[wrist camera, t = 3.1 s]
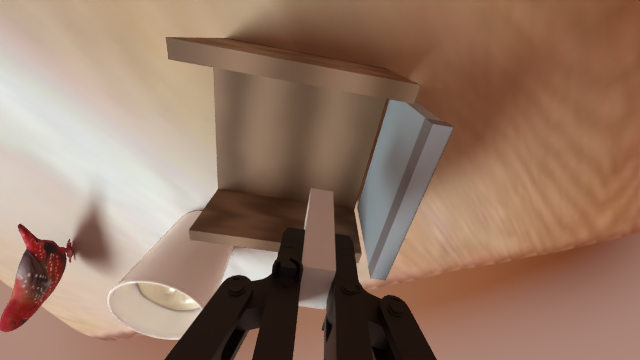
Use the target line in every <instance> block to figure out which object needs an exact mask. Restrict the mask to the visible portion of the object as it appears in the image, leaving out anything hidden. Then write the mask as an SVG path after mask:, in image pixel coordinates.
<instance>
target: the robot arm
mask: <svg viewBox="0 0 640 360" xmlns="http://www.w3.org/2000/svg"><path fill="white" fill-rule="evenodd" d="M326 304H327V308H326V311H327V313H326V316H325V319H324V323H323V326H322V330H323V331H324V360H437V359H436V357H435V356H434V354H433V352H432V350H431V348H430V346H429V345H428V343H427V341H426V339H425V337H424V335H423V333H422V331H421V330H420V328H419V326H418V324H417V322H416V320H415V318H414V316H413V315H412V313H411V311H410V309H409V307H408V306H407V304H406V303H405V302H404V301H402V300H401V299H400V298H398V297H396V296H392V295H387V296H384V297H383V298H382V299H380V298H378V297H376V296H374V295H371V294H370V293H368V292H367V291H365V290H364V289H363V288H362V285H361V284H360V283H359V280H358V274H357V267H356V259H355V251H354V243H353V241H352V240H351V238H350V236H347V235H341V234H335V229H334V201H333V191H327V190H320V189H314V188H311V190H310V196H309V202H308V207H307V213H306V218H305V226H304V229H297V228H290V227H288V228H287V229H286V230H285V231H284V232H283V235H282V240H281V244H280V248H279V252H278V257H277V260H275V262H274V264H273V268H272V274H271V275H269V276H268V277H266V278H264V279H261V280H256V281H251V280H250V279H249V278H247V277H245V276H241V275H236V276H232V277H230V278H227V279H226V280H225V281H224V282H223V283H222V284H221V285H220V287H219V288H218V289H217V291H216V292H215V293H214V295H213V296H212V297H211V299H210V300H209V301H208V303H207V304H206V305H205V307H204V308H203V309H202V311H201V312H200V313H199V315H198V316H197V317H196V319H195V320H194V321H193V323H192V324H191V325H190V327H189V328H188V329H187V331H186V332H185V333H184V335H183V336H182V337H181V338H180V340H179V341H178V343H177V344H176V345H175V346H174V348H173V349H172V350H171V352H170V353H169V354H168V356H167V357H166V359H165V360H233V359H234V358H235V356H236V354H237V352H238V350H239V348H240V346H241V345H242V343H243V341H244V339H245V337H246V335H247V333H248V331H249V330H251V329H255V328H260V329H259V333H258V337H257V341H256V346H255V350H254V354H253V358H252V360H292V359H293V351H294V341H295V332H296V323H297V314H298V313H297V312H298V306H304V307H311V308H319V309H325V307H326Z"/></svg>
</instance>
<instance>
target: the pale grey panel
mask: <svg viewBox="0 0 640 360" xmlns="http://www.w3.org/2000/svg"><path fill="white" fill-rule="evenodd" d="M453 129H454V127H452V126H451V125H449V124H448V123H447V122H445V121H443V120H442V119H440V118H439V117H437V116H436V115H434V114H433V113H431V112H430V111H428V110H427V109H426V108H424V107H423V106H421V105H420V104H418V103H417V102H415V103H414V104H411V103H406V102H400V101H395V100H389V104H388V107H387V110H386V114H385V117H384V120H383V124H382V127H381V130H380V134H379V137H378V140H377V144H376V147H375V150H374V154H373V157H372V160H371V164H370V167H369V170H368V174H367V177H366V180H365V184H364V187H363V190H362V194H361V197H360V200H359V204H358V207H357V208H358V213H359V218H360V224H361V229H362V234H363V239H364V244H365V250H366V255H367V260H368V265H369V266H368V268H369V274H370V278H372V279H380V280H386V278H387V276H388V274H389V272H390V269H391V267H392V265H393V263H394V260H395V258H396V256H397V254H398V252H399V249H400V247H401V245H402V243H403V240H404V238H405V236H406V234H407V232H408V229H409V227H410V225H411V223H412V220H413V218H414V216H415V214H416V211H417V209H418V207H419V205H420V203H421V200H422V198H423V196H424V194H425V191H426V189H427V187H428V185H429V182H430V180H431V178H432V176H433V174H434V171H435V169H436V167H437V165H438V162H439V160H440V158H441V156H442V154H443V151H444V149H445V147H446V145H447V142H448V140H449V138H450V136H451V133H452V131H453Z"/></svg>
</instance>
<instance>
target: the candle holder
mask: <svg viewBox="0 0 640 360" xmlns="http://www.w3.org/2000/svg"><path fill="white" fill-rule="evenodd" d="M201 212H202V211H193V212H189V213H187V214H185V215H183V216H182V217H181V218H180V219H179V220H178V221H177V222H176V223H175V224H174V225H173V226H172V227H171V228H170V229H169V230H168V231H167V232H166V233H165V234H164V235H163V236H162V237H161V238H160V240H159V241H158V242H157V243H156V244H155V245H154V246H153V247H152V248H151V249H150V250H149V251H148V252H147V253H146V254H145V255H144V256H143V258H142V259H141V260H140V261H139V262H138V263H137V264H136V265H135V266H134V267H133V268H132V269H131V270H130V271H129V272H128V273H127V274H126V276H125V277H124V278H123V279H122V280H121V281H120V282H119V283H118V284H116V285H115V286H114V287H113V288H112V289H111V291H110V292H109V294H108V298H107V303H108V307H109V309H110V311H111V312H112V314H113V315H114V316H115V317H116V318H117V319H118V320H119V321H120V322H121V323H123V324H124V325H126V326H127V327H129V328H131V329H132V330H134V331H137V332H139V333H141V334H144V335H148V336H151V337H155V338H160V339H169V340H170V339H171V340H178V339H180V338H181V337H182V336H183V335H184V333H185V332H186V331H187V329H188V328H189V327H190V325H191V324H192V323H193V321H194V320H195V319H196V317H197V316H198V315H199V313H200V312H201V311H202V309H203V308H204V307H205V305H206V304H207V303H208V301H209V300H210V299H211V297H212V296H213V295H214V293H215V292H216V291H217V289H218V288H219V287H220V285H221V282H222V279H223V276H224V273H225V271H226V268H227V265H228V262H229V259H230V256H231V254H232V251H233V248H234V246H231V245H223V244H216V243H209V242H201V241H194V240H190V236H189V229H190V228H191V226H192V225H193V223H194V222H195V221H196V219H197V218H198V216H199V215H200V214H201Z"/></svg>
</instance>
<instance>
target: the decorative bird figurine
mask: <svg viewBox="0 0 640 360" xmlns="http://www.w3.org/2000/svg"><path fill="white" fill-rule="evenodd" d="M18 229H19V232H20V234H21V236H22V238H23V240H24V242H25V244H26V246H27V249H26V251H25V253H24V254H23V257H22V259H21V262H20V264H19V267H18V270H17V274H16V279H15V284H14V289H13V293H12V296H11V299H10V301H9V303H8V305H7V306H6V308H5V310H4V312H3V314H2V316H1V320H0V330H1V331H3V332H9V331H13V330H15V329H16V328H18V327H20V326H21V325H23V324H24V323H25V322H26V321H27V320H28V319H29V318H30V317H31V316H32V315H33V314H34V313H35V312H36V311H37V310H38V308H39V307H40V306H41V305H42V304H43V302H44V301H45V300H46V299H47V298H48V297H49V296H50V294H51V293H52V292H53V291H54V289H55V288H56V286H57V285H58V283H59V281H60V279H61V277H62V275H63V273H64V270H65V266H66V253H67V256H68V257H69V262H70V263H71V257H72V256H73V250H72V247H71V242H70V239H69V241H68V243H67V248H64V247H59V246H58V245H57V244H56V243H55V242H54V241H50V240H40V239H38V238H36V237H35V236H34V235H33V234H32V233H31V232H30V231H29V230H28V229H26V227H24V226H23V225H21V224H19V225H18ZM69 242H70V243H69ZM69 244H70V245H69ZM65 252H66V253H65Z"/></svg>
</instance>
